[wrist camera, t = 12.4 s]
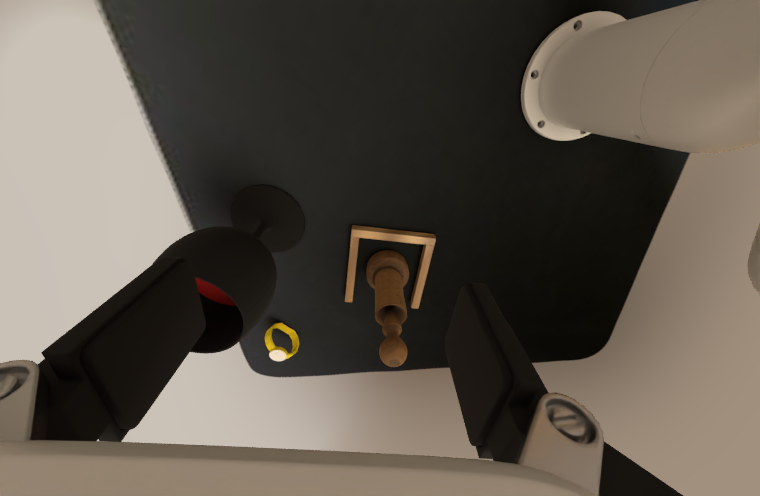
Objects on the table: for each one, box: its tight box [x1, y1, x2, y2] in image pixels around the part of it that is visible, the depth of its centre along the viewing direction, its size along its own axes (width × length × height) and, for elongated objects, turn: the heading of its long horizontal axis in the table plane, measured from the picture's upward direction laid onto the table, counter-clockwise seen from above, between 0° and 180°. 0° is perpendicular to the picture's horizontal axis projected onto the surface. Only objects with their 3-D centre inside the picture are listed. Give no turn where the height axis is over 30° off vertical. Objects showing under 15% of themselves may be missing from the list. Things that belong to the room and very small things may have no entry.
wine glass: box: [153, 185, 305, 353], centre depth 32 cm, size 10×10×20 cm
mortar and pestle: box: [366, 250, 409, 367], centre depth 38 cm, size 7×6×18 cm
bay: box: [345, 225, 436, 309], centre depth 45 cm, size 12×13×2 cm
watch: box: [265, 323, 299, 361], centre depth 49 cm, size 6×3×6 cm, turn 42°
